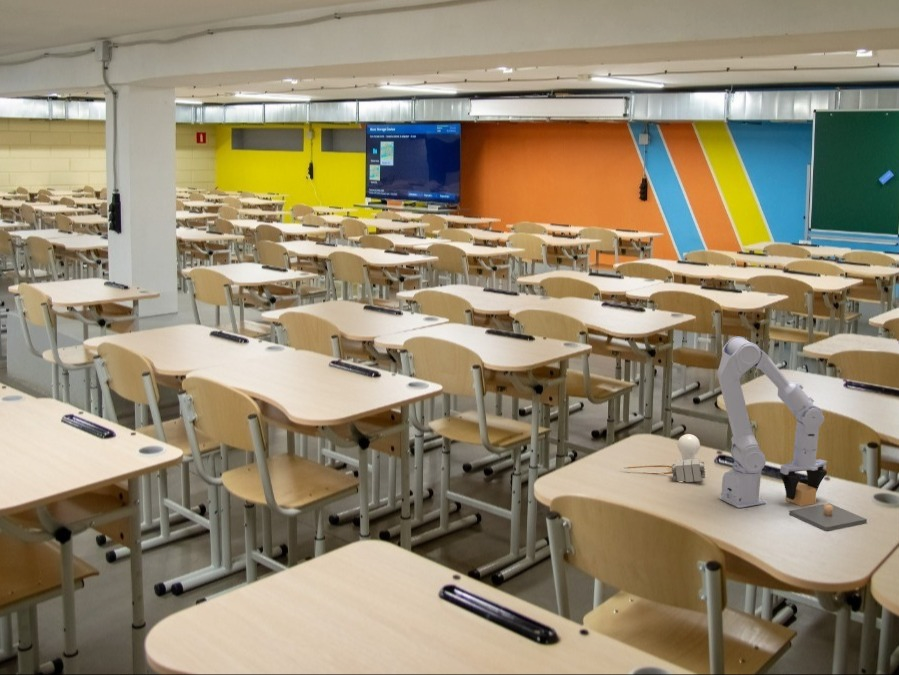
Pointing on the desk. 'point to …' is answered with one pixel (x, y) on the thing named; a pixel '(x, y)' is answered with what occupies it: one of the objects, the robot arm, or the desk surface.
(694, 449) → the lightbulb
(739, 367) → the robot arm
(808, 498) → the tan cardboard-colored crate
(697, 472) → the electrical component
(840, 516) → the plate
